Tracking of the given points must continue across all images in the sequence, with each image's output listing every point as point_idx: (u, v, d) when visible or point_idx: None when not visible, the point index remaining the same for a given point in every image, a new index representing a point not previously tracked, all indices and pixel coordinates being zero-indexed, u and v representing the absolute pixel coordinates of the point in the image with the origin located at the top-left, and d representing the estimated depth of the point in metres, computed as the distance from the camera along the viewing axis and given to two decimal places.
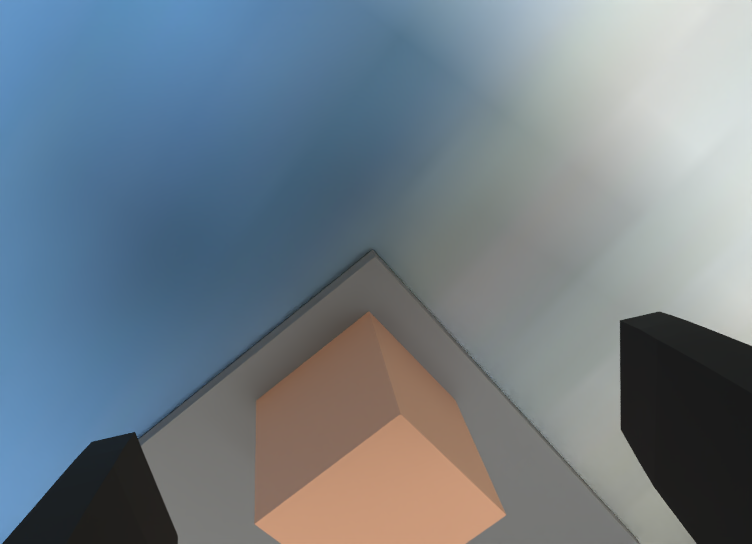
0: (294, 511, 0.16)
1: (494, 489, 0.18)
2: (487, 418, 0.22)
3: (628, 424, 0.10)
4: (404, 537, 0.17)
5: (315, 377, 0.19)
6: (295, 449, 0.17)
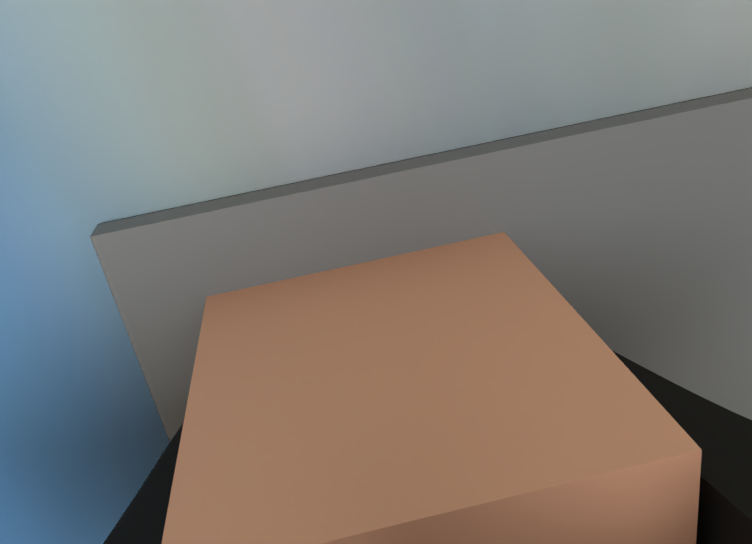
0: None
1: (640, 389, 0.06)
2: (590, 190, 0.10)
3: None
4: None
5: None
6: None
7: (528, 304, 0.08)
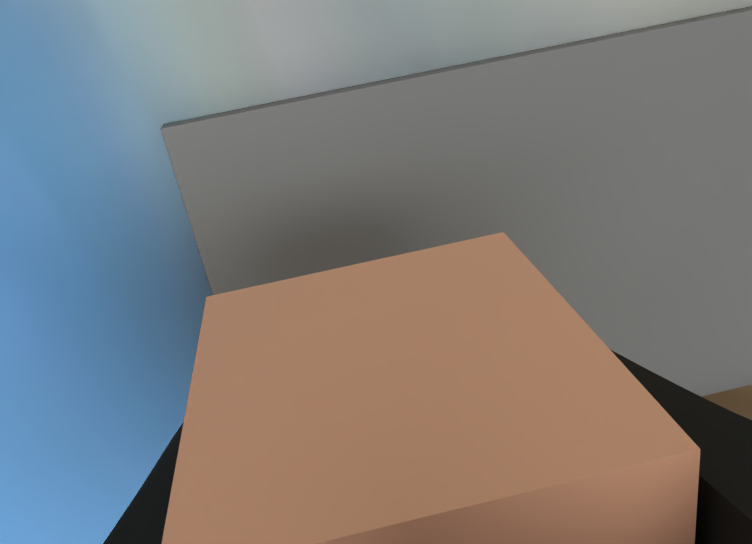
0: None
1: (639, 389, 0.06)
2: (465, 106, 0.16)
3: None
4: None
5: None
6: None
7: (527, 304, 0.08)
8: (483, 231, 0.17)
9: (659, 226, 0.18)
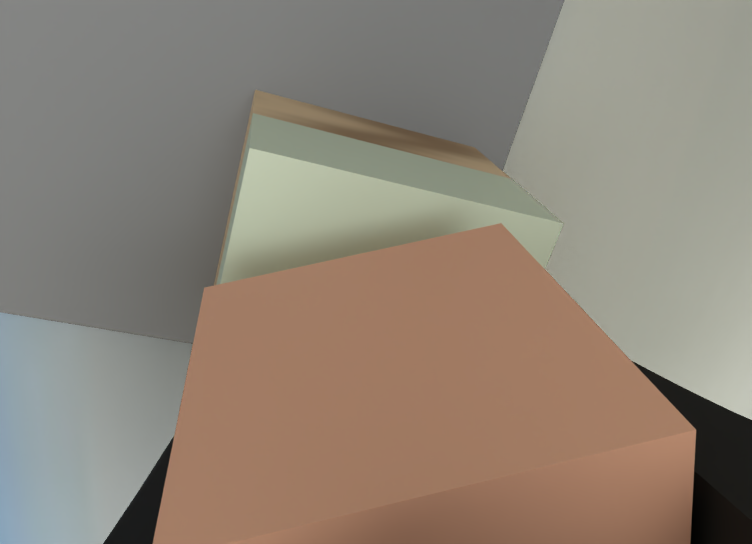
0: None
1: (635, 373, 0.06)
2: None
3: None
4: None
5: None
6: None
7: (524, 292, 0.08)
8: None
9: None
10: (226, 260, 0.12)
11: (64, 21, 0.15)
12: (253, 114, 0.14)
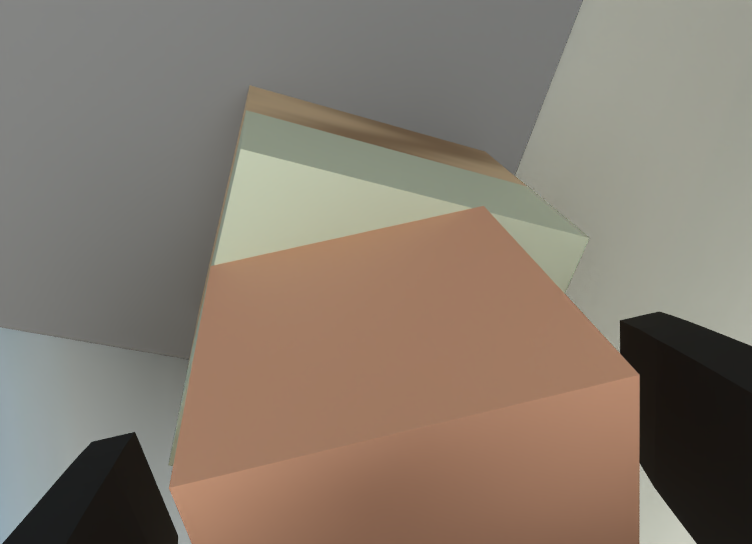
0: None
1: (592, 330, 0.07)
2: None
3: None
4: None
5: None
6: None
7: (501, 265, 0.09)
8: None
9: None
10: None
11: (41, 7, 0.14)
12: (246, 111, 0.12)
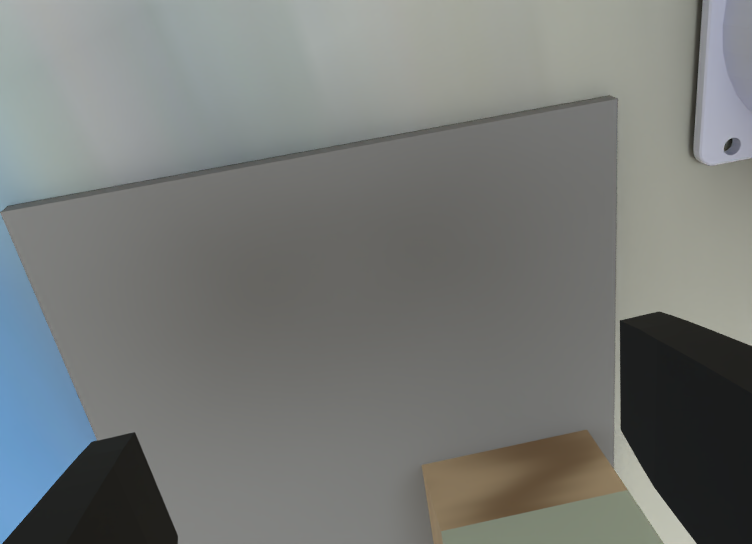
0: None
1: None
2: (274, 194, 0.18)
3: (627, 424, 0.10)
4: None
5: None
6: None
7: None
8: (303, 299, 0.20)
9: (467, 296, 0.20)
10: None
11: (291, 483, 0.23)
12: (442, 534, 0.20)
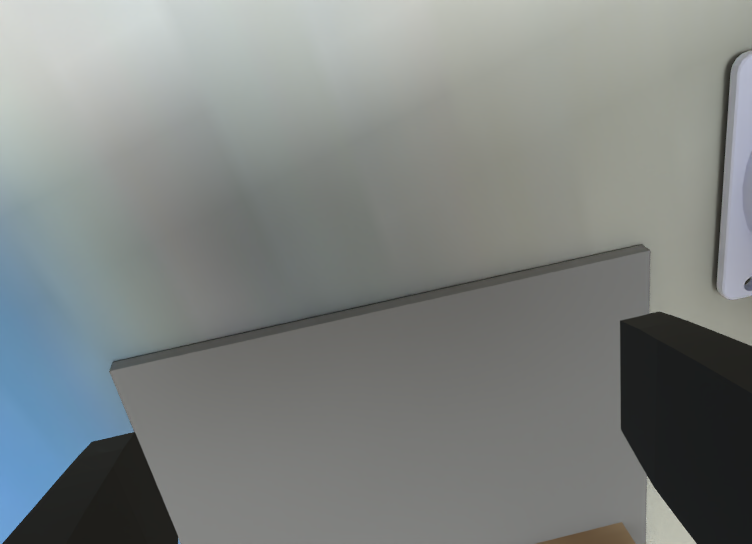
0: None
1: None
2: (348, 343, 0.21)
3: (627, 424, 0.10)
4: None
5: None
6: None
7: None
8: (371, 427, 0.22)
9: (515, 417, 0.23)
10: None
11: None
12: None
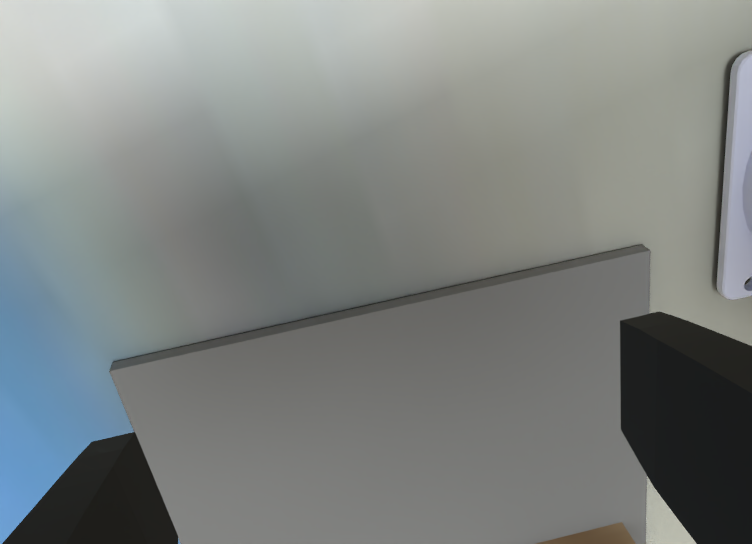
0: None
1: None
2: (348, 343, 0.21)
3: (627, 424, 0.10)
4: None
5: None
6: None
7: None
8: (371, 427, 0.22)
9: (515, 417, 0.23)
10: None
11: None
12: None
